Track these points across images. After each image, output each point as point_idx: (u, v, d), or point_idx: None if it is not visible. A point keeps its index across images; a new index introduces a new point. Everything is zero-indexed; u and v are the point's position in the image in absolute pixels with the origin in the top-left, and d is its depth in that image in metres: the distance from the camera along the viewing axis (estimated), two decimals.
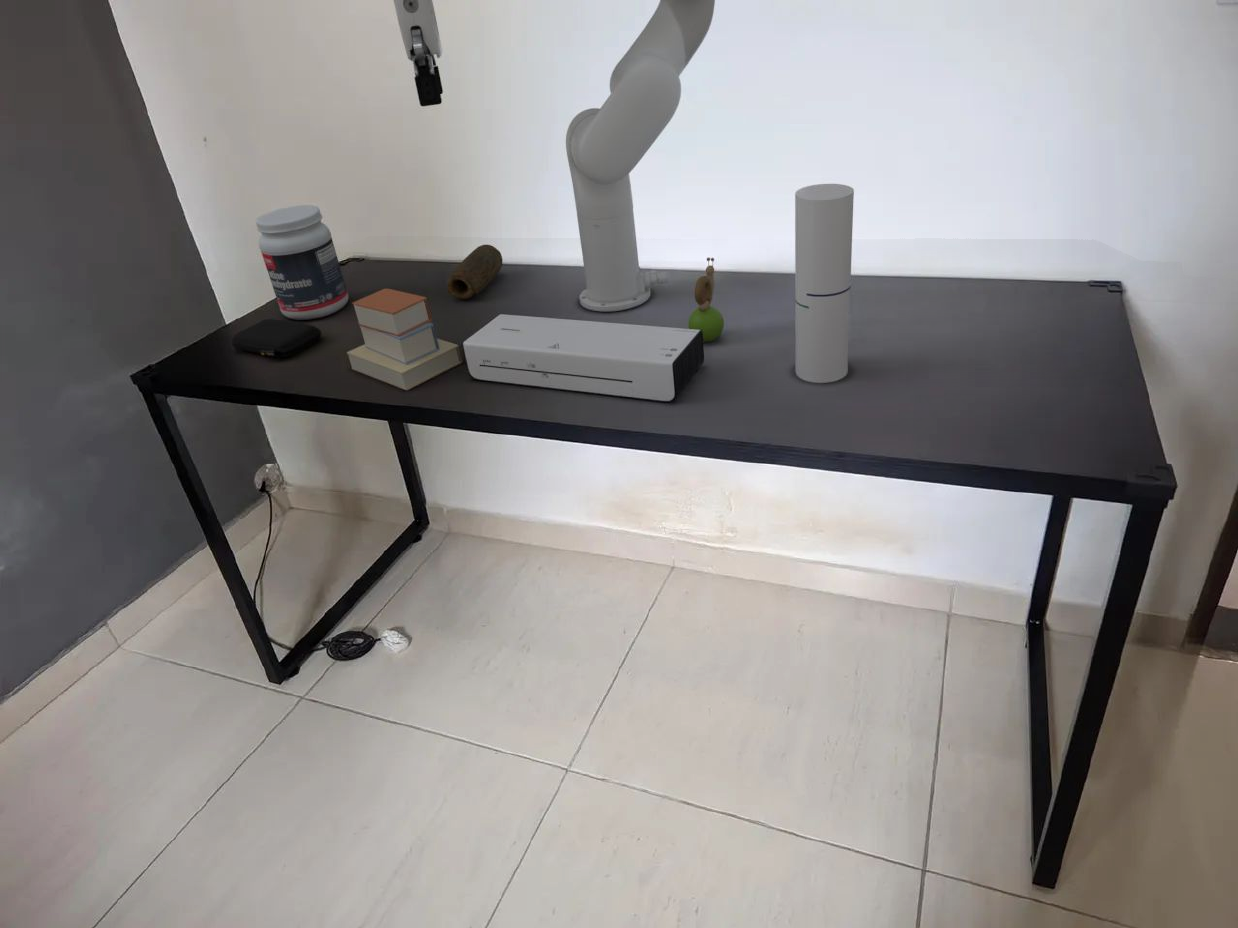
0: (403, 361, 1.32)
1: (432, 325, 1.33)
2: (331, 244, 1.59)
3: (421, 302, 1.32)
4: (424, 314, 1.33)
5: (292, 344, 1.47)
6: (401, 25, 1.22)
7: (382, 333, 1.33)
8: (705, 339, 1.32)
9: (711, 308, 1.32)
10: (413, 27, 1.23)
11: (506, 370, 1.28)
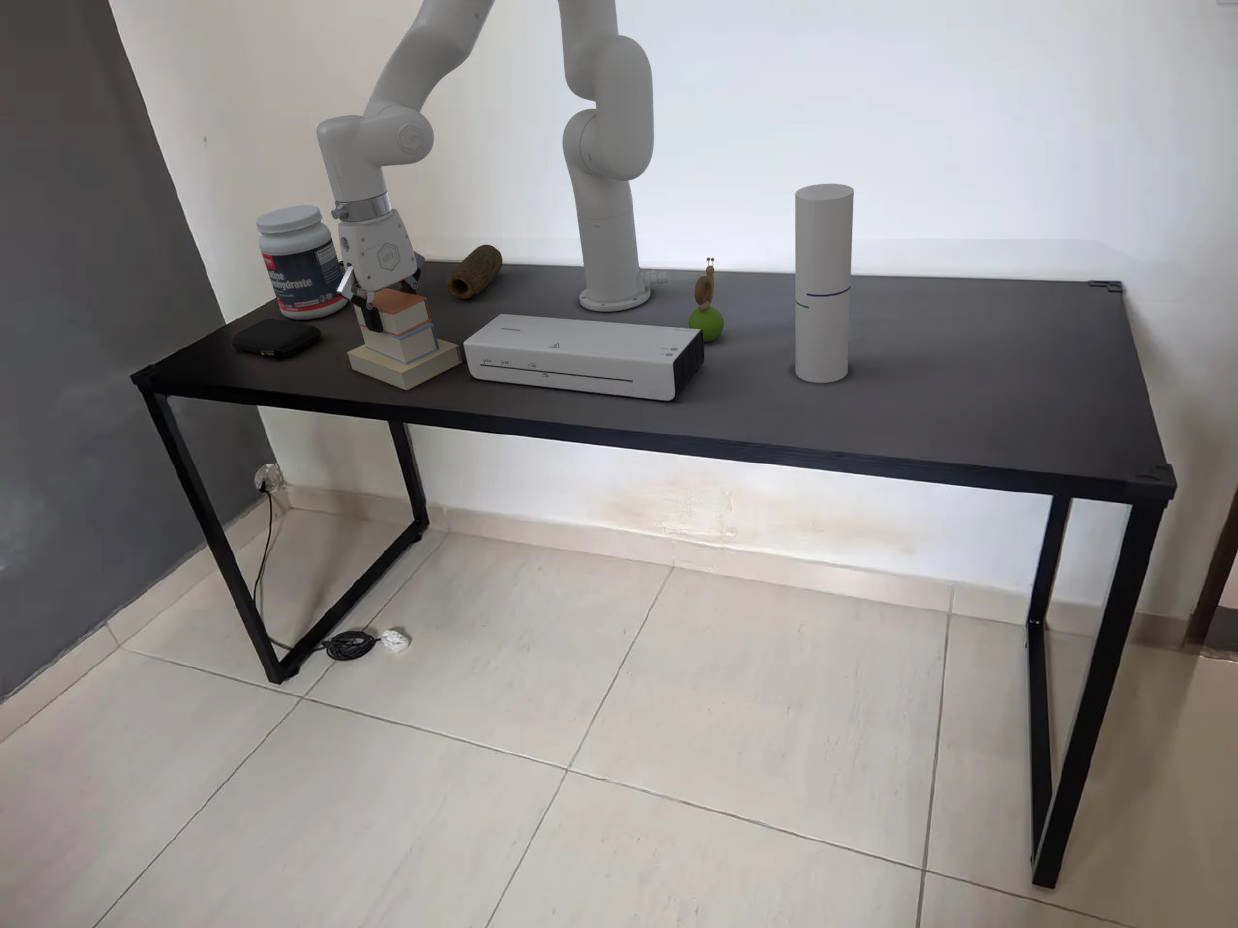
0: (403, 361, 1.32)
1: (432, 325, 1.33)
2: (331, 244, 1.59)
3: (421, 302, 1.32)
4: (424, 314, 1.33)
5: (292, 344, 1.47)
6: (342, 258, 1.27)
7: (382, 333, 1.33)
8: (705, 339, 1.32)
9: (711, 308, 1.32)
10: (350, 264, 1.27)
11: (506, 370, 1.28)
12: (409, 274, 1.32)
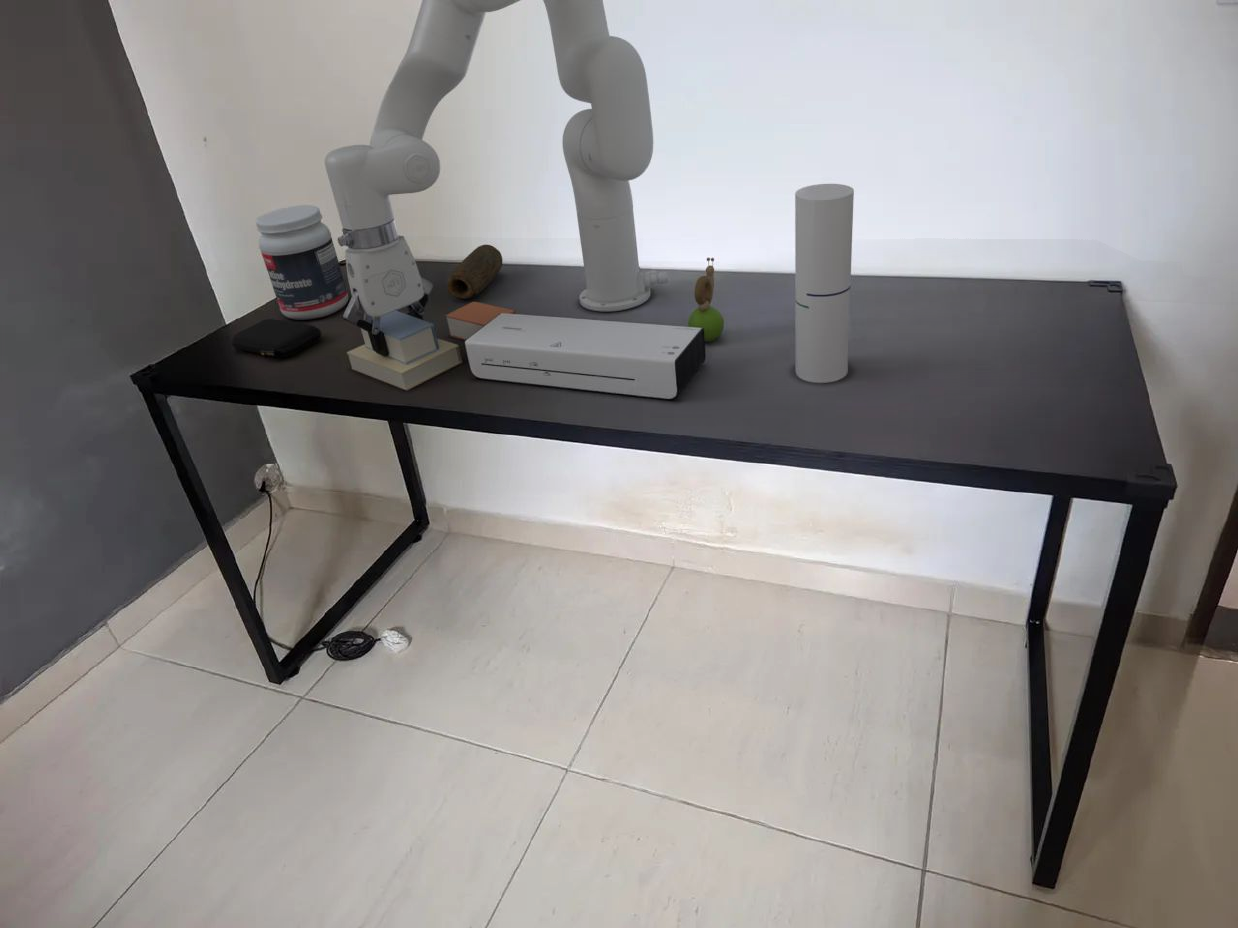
0: (403, 361, 1.32)
1: (432, 325, 1.33)
2: (331, 244, 1.59)
3: None
4: None
5: (292, 344, 1.47)
6: (349, 283, 1.30)
7: None
8: (705, 339, 1.32)
9: (711, 308, 1.32)
10: (356, 290, 1.29)
11: (508, 369, 1.28)
12: (415, 300, 1.33)
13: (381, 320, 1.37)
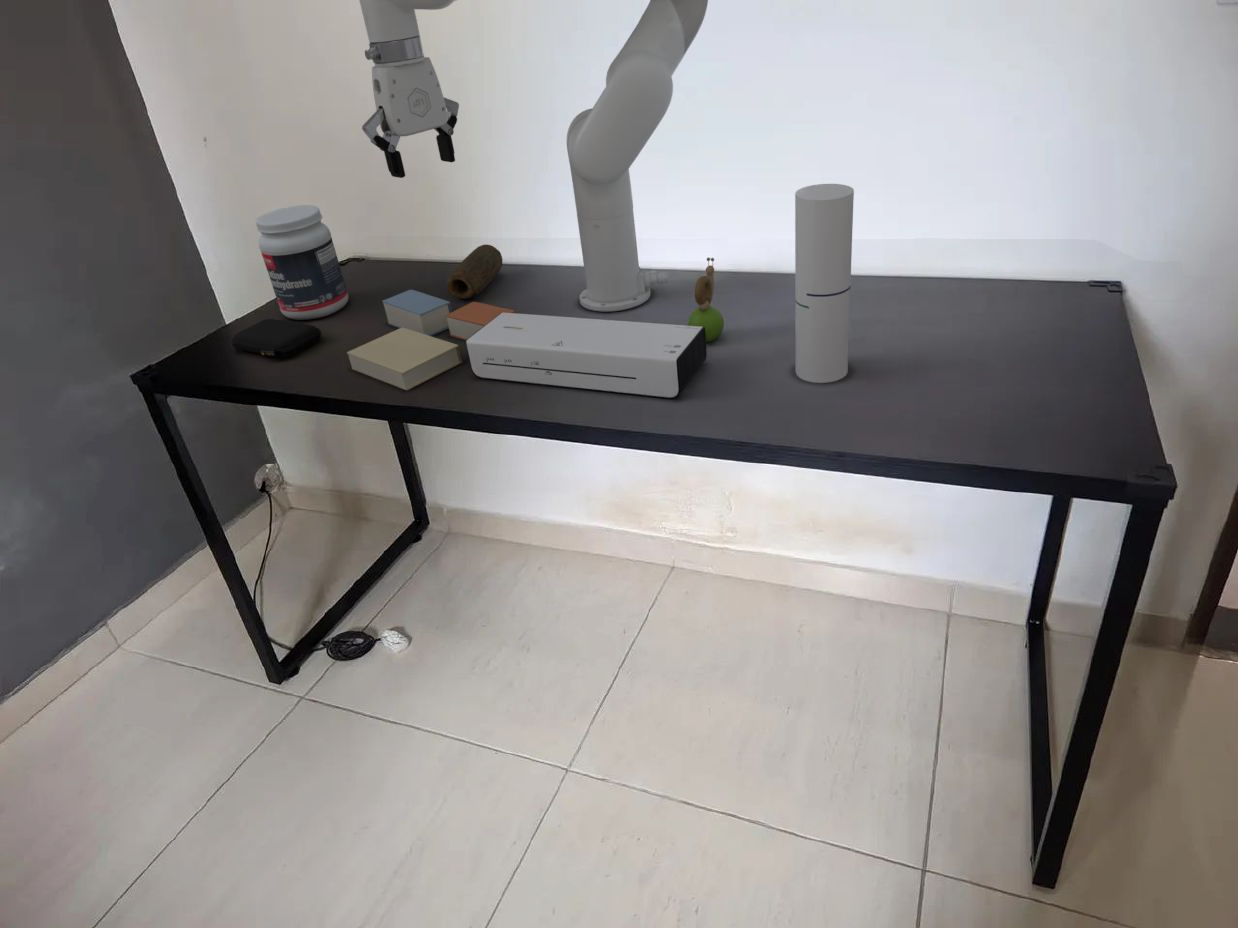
0: None
1: (448, 303, 1.49)
2: (331, 244, 1.59)
3: None
4: None
5: (292, 344, 1.47)
6: None
7: (404, 310, 1.49)
8: None
9: (711, 308, 1.32)
10: (381, 106, 1.31)
11: (509, 368, 1.28)
12: (439, 124, 1.36)
13: (402, 299, 1.53)
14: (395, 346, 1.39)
